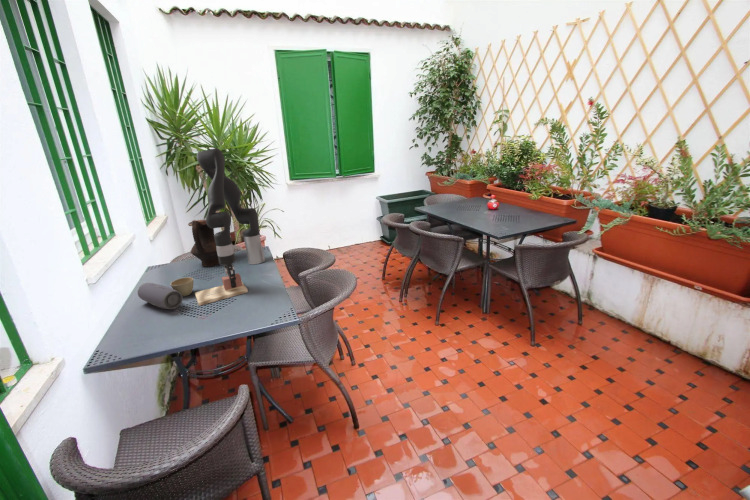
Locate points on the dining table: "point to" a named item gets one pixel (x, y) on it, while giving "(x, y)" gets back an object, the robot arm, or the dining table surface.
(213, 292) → the board
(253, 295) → the dining table surface
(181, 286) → the flower pot
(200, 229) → the jug
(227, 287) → the block
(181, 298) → the bluetooth speaker
